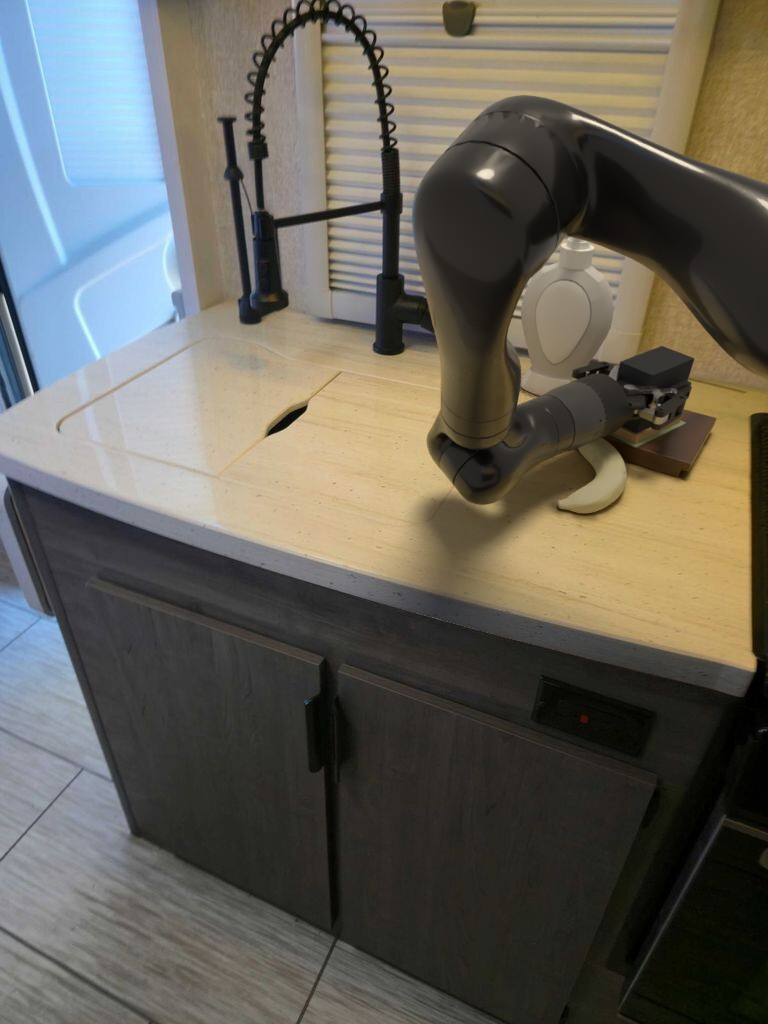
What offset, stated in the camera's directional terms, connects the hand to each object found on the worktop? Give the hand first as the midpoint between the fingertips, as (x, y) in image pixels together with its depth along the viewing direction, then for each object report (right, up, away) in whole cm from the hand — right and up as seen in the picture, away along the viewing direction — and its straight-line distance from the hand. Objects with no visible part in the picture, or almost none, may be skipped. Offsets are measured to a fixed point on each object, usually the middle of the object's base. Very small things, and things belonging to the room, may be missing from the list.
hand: (663, 378), depth 86 cm
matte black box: (-2, -6, +2) cm, 6 cm away
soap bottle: (-11, 0, +15) cm, 19 cm away
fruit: (-11, -14, -3) cm, 18 cm away
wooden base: (-1, -7, +5) cm, 9 cm away
